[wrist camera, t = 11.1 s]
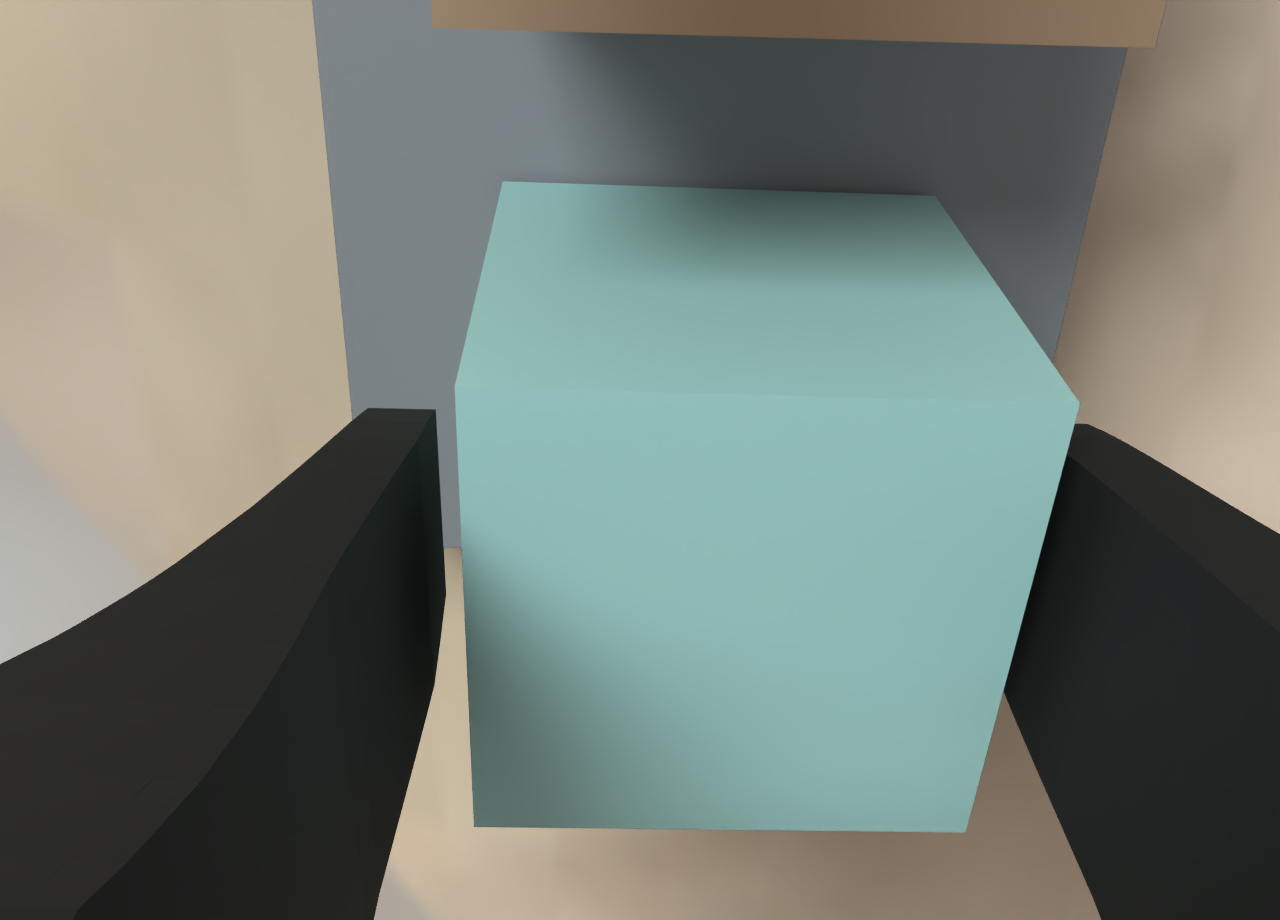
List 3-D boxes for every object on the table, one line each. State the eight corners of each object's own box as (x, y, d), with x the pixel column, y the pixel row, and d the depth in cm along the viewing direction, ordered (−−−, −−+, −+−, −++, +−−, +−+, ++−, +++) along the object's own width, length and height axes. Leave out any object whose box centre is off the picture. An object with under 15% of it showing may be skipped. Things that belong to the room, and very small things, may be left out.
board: (1203, -677, 11) (1324, -765, 9) (965, 475, 17) (1008, 560, 15) (294, -732, 10) (229, -834, 9) (389, 462, 16) (363, 549, 15)
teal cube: (935, 195, 12) (1079, 403, 9) (872, 546, 15) (966, 833, 11) (502, 181, 12) (455, 387, 8) (509, 539, 15) (474, 827, 11)
